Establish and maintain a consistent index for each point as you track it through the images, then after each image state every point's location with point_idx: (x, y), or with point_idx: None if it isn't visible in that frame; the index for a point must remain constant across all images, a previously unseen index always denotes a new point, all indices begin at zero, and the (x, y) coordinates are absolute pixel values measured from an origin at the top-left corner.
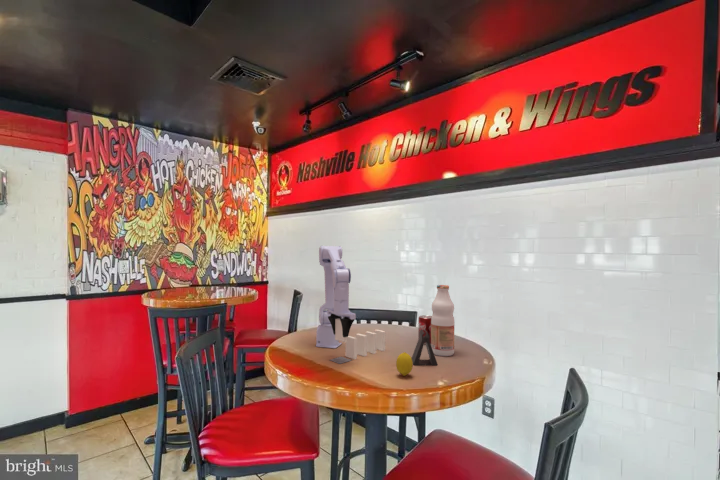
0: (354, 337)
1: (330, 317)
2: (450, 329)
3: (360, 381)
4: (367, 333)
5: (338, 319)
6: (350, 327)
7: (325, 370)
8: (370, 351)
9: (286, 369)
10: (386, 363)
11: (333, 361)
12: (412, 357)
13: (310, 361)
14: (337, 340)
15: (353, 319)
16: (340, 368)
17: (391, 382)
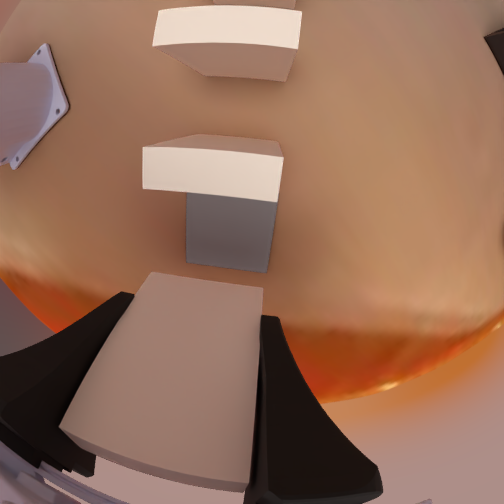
0: (243, 158)
1: (85, 475)
2: None
3: (423, 339)
4: None
5: (128, 467)
6: (308, 388)
7: None
8: (265, 3)
9: None
10: (445, 123)
11: (217, 266)
12: (500, 45)
13: None
14: (34, 82)
15: (374, 489)
16: (308, 307)
17: (494, 290)
